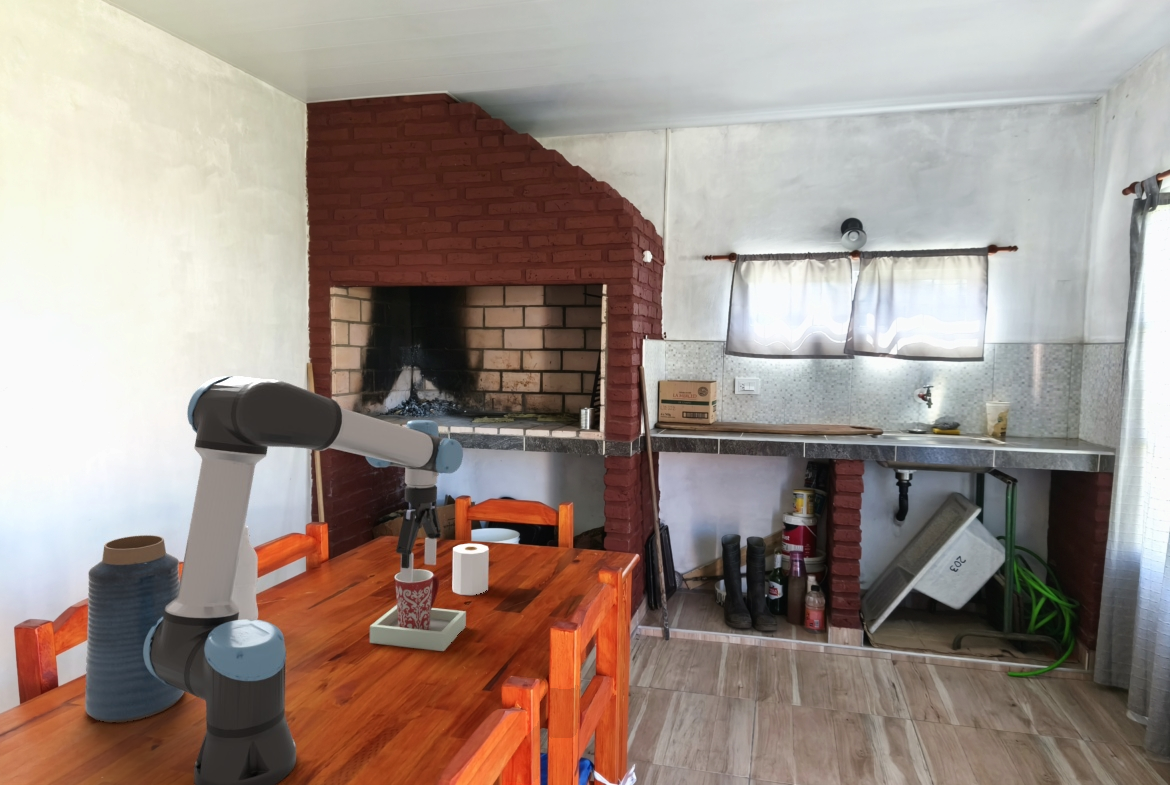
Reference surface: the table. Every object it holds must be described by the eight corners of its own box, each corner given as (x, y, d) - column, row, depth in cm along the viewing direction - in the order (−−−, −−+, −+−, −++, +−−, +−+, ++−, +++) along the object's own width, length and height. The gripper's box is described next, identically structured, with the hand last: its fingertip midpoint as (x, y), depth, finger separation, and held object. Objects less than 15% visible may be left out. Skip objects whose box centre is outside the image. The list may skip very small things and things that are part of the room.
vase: (70, 730, 126) (66, 557, 124) (104, 686, 142) (101, 532, 140) (172, 719, 131) (170, 552, 129) (194, 678, 147) (193, 528, 144)
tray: (443, 651, 163) (443, 634, 162) (369, 642, 166) (369, 626, 166) (465, 626, 177) (465, 611, 177) (397, 619, 180) (397, 604, 180)
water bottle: (218, 629, 171) (218, 528, 169) (245, 619, 177) (244, 521, 176) (238, 636, 168) (237, 532, 166) (264, 625, 174) (264, 525, 172)
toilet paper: (482, 597, 198) (482, 554, 197) (446, 593, 200) (447, 551, 199) (492, 585, 208) (493, 544, 207) (458, 582, 210) (459, 542, 209)
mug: (414, 641, 164) (414, 584, 163) (386, 631, 168) (386, 576, 167) (451, 623, 174) (451, 569, 173) (424, 614, 179) (424, 562, 178)
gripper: (413, 495, 156) (411, 590, 157) (455, 477, 181) (452, 559, 182) (382, 493, 157) (380, 587, 159) (427, 475, 182) (425, 556, 183)
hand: (418, 572), depth 170 cm, fingers open, 13 cm apart
